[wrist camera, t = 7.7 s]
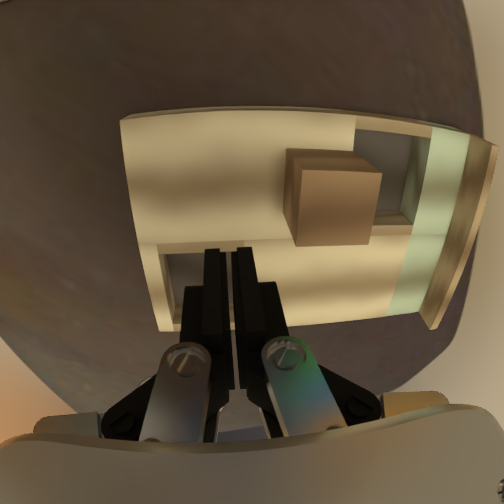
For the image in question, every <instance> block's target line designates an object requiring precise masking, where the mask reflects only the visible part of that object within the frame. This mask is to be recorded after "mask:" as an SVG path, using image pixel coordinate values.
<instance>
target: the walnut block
mask: <svg viewBox="0 0 504 504" xmlns="http://www.w3.org/2000/svg"><path fill="white" fill-rule="evenodd" d="M381 178H382V173H381V172H380V171H379V170H377V169H376V168H375V167H373V166H372V165H371V164H369V163H368V162H367V161H365V160H364V159H363V158H361V157H360V156H359V155H357V154H356V153H355V152H353V151H343V150H326V149H300V148H286V163H285V182H284V199H283V214H284V217H285V220H286V222H287V225H288V227H289V230H290V233H291V235H292V238H293V241H294V244H295V246H296V247H311V246H344V245H368V244H369V240H370V235H371V231H372V226H373V221H374V216H375V211H376V206H377V201H378V195H379V190H380V184H381Z"/></svg>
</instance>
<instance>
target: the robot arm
mask: <svg viewBox="0 0 504 504" xmlns="http://www.w3.org/2000/svg"><path fill="white" fill-rule="evenodd" d="M6 1H8V0H0V3H2V2H6ZM231 268H232V290H233V310H234V323H235V335H236V347H237V359H238V370H239V382H240V389H246V390H247V397H248V398H249V400H250V401H251V402H253V403H254V404H256V405H257V406H259V411H260V414H261V417H262V421H263V424H264V427H265V430H266V433H267V436H268V439H262V440H251V441H238V442H219V443H216V441H217V433H218V425H219V417H220V409H221V408H222V407H223V406H224V405H225V404H226V403H228V402H229V390H233V389H235V383H234V369H233V356H232V342H231V327H230V312H229V296H228V279H227V262H226V252H220V248H213V249H205V251H204V275H203V285H199V286H185V289H184V297H183V308H182V318H181V330H180V342H179V343H178V344H175V345H173V346H171V347H170V348H168V349H167V350H166V351H165V352H164V354H163V356H162V358H161V362H160V365H159V369H158V372H157V374H155V375H154V376H153V377H151V378H150V379H149V380H147V381H146V382H145V383H143V384H142V385H141V386H139V387H138V388H137V389H135V390H134V391H133V392H131V393H130V394H129V395H127V396H126V397H125V398H123V399H122V400H121V401H119V402H118V403H117V404H115V405H114V406H112V407H111V408H110V409H109V410H108V411H107V412H106V413H103V414H98V413H97V412H89V413H80V414H70V415H59V416H47V417H44V418H42V419H40V420H39V421H38V422H37V423H36V425H35V426H34V430H33V433H29V434H23V435H19V436H15V437H12V438H10V439H8V440H5V441H4V442H2V443H1V444H0V504H504V431H503V429H502V428H501V426H500V425H499V423H498V422H497V420H496V419H495V418H494V416H493V415H492V414H491V413H489V412H488V411H487V410H485V409H483V408H481V407H478V406H473V405H467V404H449V401H448V399H447V398H446V397H445V396H444V395H443V394H441V393H439V392H437V391H419V392H388V393H382V395H374V394H373V393H371V392H370V391H368V390H366V389H364V388H362V387H360V386H358V385H356V384H354V383H352V382H351V381H349V380H347V379H345V378H343V377H341V376H339V375H337V374H335V373H334V372H332V371H330V370H328V369H326V368H324V367H323V366H321V365H319V364H317V362H316V360H315V358H314V356H313V354H312V352H311V350H310V348H309V347H308V345H307V344H306V343H305V342H303V341H302V340H300V339H298V338H295V337H291V336H289V333H288V328H287V324H286V320H285V316H284V312H283V308H282V304H281V300H280V296H279V292H278V287H277V284H276V282H275V281H270V282H258V278H257V272H256V267H255V261H254V256H253V250H252V246H251V247H237V251H233V252H231Z"/></svg>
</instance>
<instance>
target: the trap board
mask: <svg viewBox="0 0 504 504" xmlns="http://www.w3.org/2000/svg"><path fill="white" fill-rule="evenodd" d="M120 129H121V138H122V146H123V154H124V162H125V169H126V176H127V183H128V189H129V196H130V202H131V208H132V213H133V219H134V224H135V229H136V235H137V240H138V245H139V249H140V254H141V259H142V263H143V268H144V272H145V277H146V281H147V285H148V289H149V293H150V297H151V301H152V305H153V309H154V313H155V317H156V320H157V324H158V328H159V331H180V330H181V318H182V308H183V297H184V289H185V286H199V285H203V275H204V251H205V249H213V248H220V252H226V262H227V279H228V296H229V312H230V327H231V330H235V323H234V310H233V290H232V268H231V252H233V251H237V247H251V246H252V250H253V256H254V261H255V267H256V272H257V278H258V282H270V281H275V282H276V284H277V287H278V292H279V296H280V300H281V304H282V308H283V312H284V316H285V320H286V324H287V326H298V325H310V324H321V323H331V322H341V321H350V320H359V319H367V318H375V317H383V316H391V315H398V314H405V313H412V312H418V311H419V313H420V315H421V316H422V318H423V319H424V321H425V323H426V324H427V326H428V328H429V329H430V330H431V329H436V328H437V327H438V325H439V323H440V321H441V319H442V317H443V315H444V313H445V311H446V308H447V306H448V304H449V302H450V300H451V297H452V295H453V293H454V291H455V288H456V286H457V284H458V281H459V279H460V276H461V274H462V272H463V269H464V266H465V264H466V261H467V259H468V256H469V253H470V251H471V248H472V245H473V242H474V239H475V236H476V233H477V230H478V227H479V224H480V221H481V218H482V214H483V211H484V208H485V204H486V201H487V197H488V194H489V190H490V186H491V181H492V177H493V173H494V169H495V165H496V160H497V155H498V150H499V146H497V145H495V144H493V143H491V142H488V141H486V140H484V139H482V138H480V137H477V136H475V135H473V134H471V133H468V132H466V131H464V130H461V129H459V128H455V127H451V126H446V125H441V124H437V123H431V122H426V121H421V120H415V119H410V118H404V117H397V116H390V115H383V114H376V113H368V112H359V111H350V110H339V109H326V108H311V107H289V106H224V107H202V108H187V109H174V110H163V111H154V112H145V113H137V114H131V115H129V116H127V117H125V118H123V119H121V120H120ZM286 148H300V149H326V150H343V151H353V152H355V153H356V154H357V155H359V156H360V157H361V158H363V159H364V160H365V161H367V162H368V163H369V164H371V165H372V166H373V167H375V168H376V169H377V170H379V171H380V172H381V173H382V178H381V184H380V190H379V195H378V201H377V206H376V211H375V216H374V221H373V226H372V231H371V235H370V240H369V244H368V245H344V246H311V247H296V246H295V244H294V241H293V238H292V235H291V233H290V230H289V227H288V225H287V222H286V220H285V217H284V214H283V199H284V182H285V163H286Z"/></svg>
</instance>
